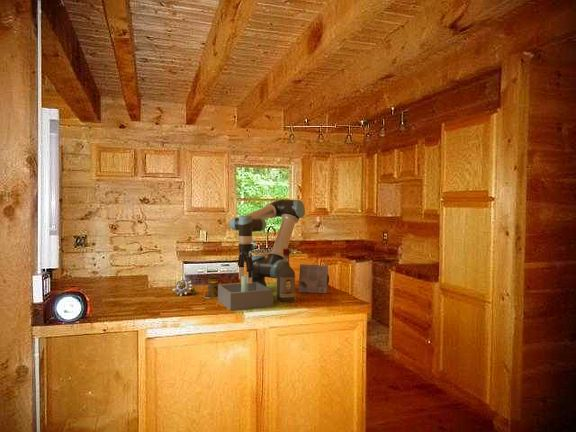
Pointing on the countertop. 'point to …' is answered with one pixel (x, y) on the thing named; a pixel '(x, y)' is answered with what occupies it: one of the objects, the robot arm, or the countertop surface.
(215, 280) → the condiment
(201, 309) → the countertop surface
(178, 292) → the passion flower
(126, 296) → the countertop surface
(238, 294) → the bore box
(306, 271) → the cake pan box
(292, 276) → the liquor
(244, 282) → the peg
